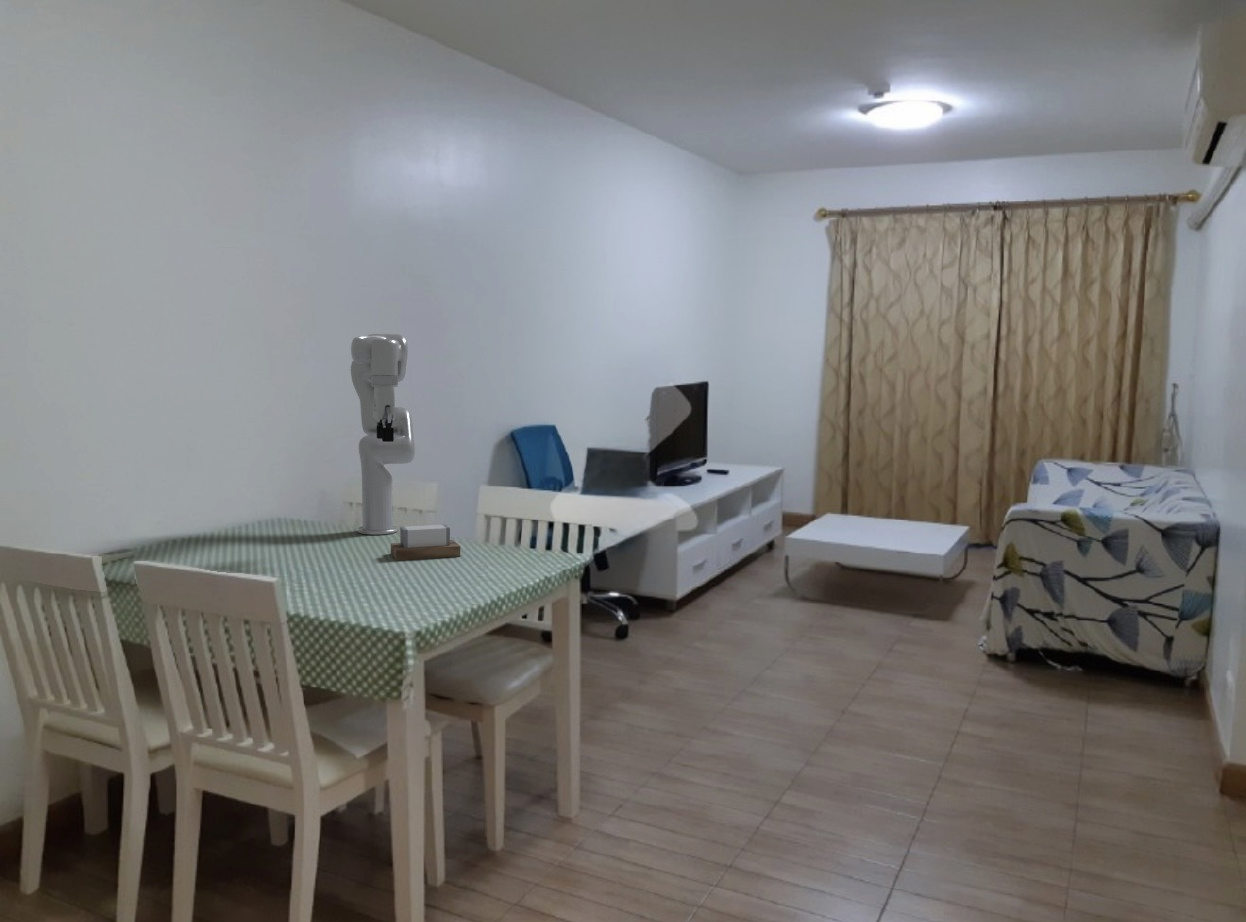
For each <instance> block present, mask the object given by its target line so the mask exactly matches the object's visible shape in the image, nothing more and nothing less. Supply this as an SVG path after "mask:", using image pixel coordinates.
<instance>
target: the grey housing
mask: <svg viewBox="0 0 1246 922" xmlns="http://www.w3.org/2000/svg"><path fill="white" fill-rule="evenodd" d="M399 529H400V530H399V531H400V532H399V533H400V542H399V543H400V544H401V545H402V546H403V547H404V548H411V547H428V546H445V545H446V546H449V545H450V540H451V527H449V526H448V525H447V524H429V525H407V526H403V525H402V526H399Z"/></svg>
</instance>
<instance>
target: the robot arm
mask: <svg viewBox="0 0 1246 922" xmlns="http://www.w3.org/2000/svg"><path fill="white" fill-rule="evenodd" d="M408 350H409V349H408V342H407V339H406V338H405V337H404V336H403V335H401V334H396V333H395V334H394V333H390V334H389V333H372V334H368V335H366V336H356V337H354V338H353V339H352V341H351V344H350V354H351V355H350V356H351V358H352V361H351V364H350V376H351V380H352V381H351V382H352V384H353V388H354V390H355V392H356V394H357V396H358V399H359V403H360V404H359V405H360V417H361V418H360V419H361V420H360V421H361V427H362V430H363V432H364V434H365V436H363V437H361V439H360V440H359V442H358V454H359V460H360V467H361V468H360V469H361V500H362V503H361V505H362V506H361V507H362V509H361V510H362V513H361V514H362V516H361V517H362V520H361V521H362V523H361V524H362V525H361V526H360V527H357V533H358V534H362V535H368V536H369V535H372V536H374V535H375V536H376V535H379V536H380V535H391V534H394V533H396V532H398V526H395V525H394V524H393V523H394V521H393V512H394V511H393V510H394V509H393V477H392V475H391V473H390V471H389V470H388V469H386V467H385V466H384V465H391V464H392V465H395V464H397V465H401V464H409V463H411V462H413V460H414V458H415V454H416V448H415V440H414V430H413V429H414V428H413V422H412V421H413V420H412V416H411V413H410V411H409V410H408V409H407V408H405V407H402V406H401V407H400V406H398V407H397V406H395V403H396V402H395V401H396V400H395V388H398V387H399V383H400V382H402V381H404V379H405V377H406V370H407V364H408V363H407V362H408V352H409V351H408Z"/></svg>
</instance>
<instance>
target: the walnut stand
mask: <svg viewBox="0 0 1246 922" xmlns="http://www.w3.org/2000/svg"><path fill="white" fill-rule="evenodd" d="M390 555H391V556H392V557H393V558H394V559H395V561H408V560H409V561H413V560H422V559H423V560H427V559H441V558H443V559H445V558H457V557H461V545H460V544H458V543H457V542H456V541H454V540H453V539H450V545H449V546H446V545H445V546H428V547H411V548H404V547H403V546H402V545H401V544H400V542H394V543H393V542H392V543H390Z"/></svg>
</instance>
